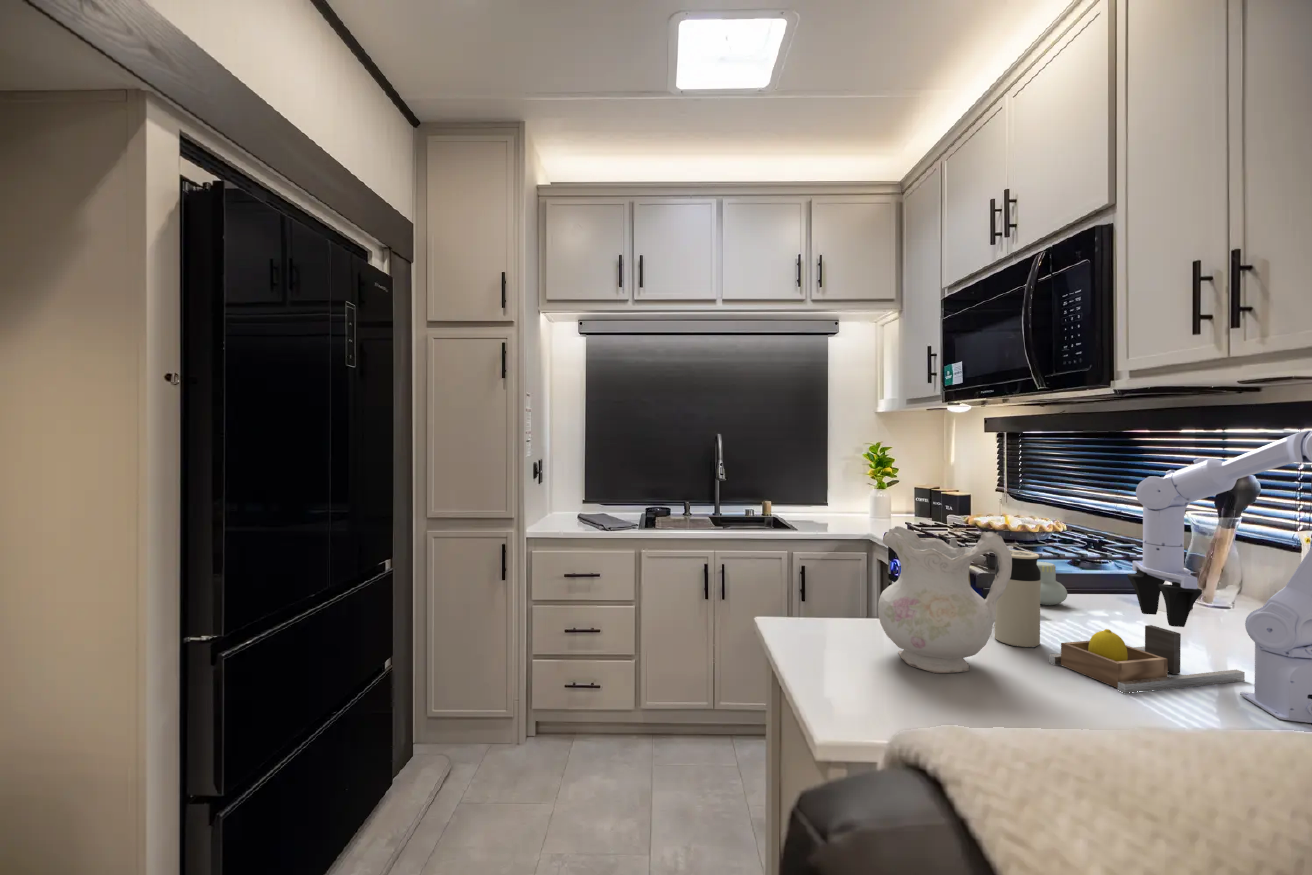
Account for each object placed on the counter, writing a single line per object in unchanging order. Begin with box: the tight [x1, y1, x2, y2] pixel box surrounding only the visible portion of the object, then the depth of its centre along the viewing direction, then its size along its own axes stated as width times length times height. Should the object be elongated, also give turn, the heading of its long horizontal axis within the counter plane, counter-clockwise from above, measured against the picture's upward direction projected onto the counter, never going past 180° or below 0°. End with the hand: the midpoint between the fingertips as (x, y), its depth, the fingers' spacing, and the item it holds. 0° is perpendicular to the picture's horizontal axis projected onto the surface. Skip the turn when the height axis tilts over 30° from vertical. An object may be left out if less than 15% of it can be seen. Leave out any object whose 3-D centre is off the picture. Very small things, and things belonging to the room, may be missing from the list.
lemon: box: [1088, 628, 1128, 662], centre depth 107 cm, size 6×6×8 cm
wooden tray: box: [1060, 624, 1182, 689], centre depth 108 cm, size 18×11×7 cm, turn 104°
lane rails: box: [1048, 645, 1246, 694], centre depth 109 cm, size 26×14×2 cm, turn 104°
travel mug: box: [994, 549, 1041, 648], centre depth 125 cm, size 8×8×18 cm
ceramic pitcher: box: [877, 526, 1012, 674], centre depth 113 cm, size 22×20×25 cm
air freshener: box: [1037, 560, 1068, 606], centre depth 156 cm, size 11×8×10 cm
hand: (1162, 619), depth 110 cm, fingers open, 7 cm apart
